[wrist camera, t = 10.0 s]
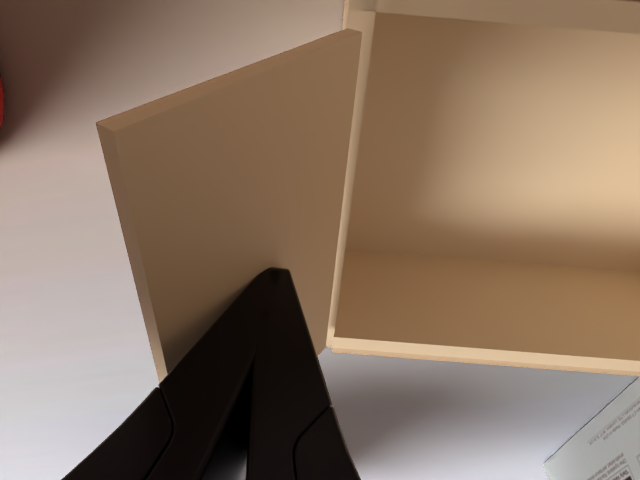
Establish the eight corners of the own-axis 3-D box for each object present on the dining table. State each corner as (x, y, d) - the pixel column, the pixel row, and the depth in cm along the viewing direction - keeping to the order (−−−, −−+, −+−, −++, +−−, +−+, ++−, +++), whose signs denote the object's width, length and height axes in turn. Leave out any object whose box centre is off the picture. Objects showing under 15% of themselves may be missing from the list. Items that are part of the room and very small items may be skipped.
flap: (193, 492, 11) (183, 484, 11) (325, 347, 14) (317, 341, 14) (113, 131, 5) (95, 122, 5) (362, 32, 8) (348, 28, 9)
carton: (662, 283, 19) (735, 386, 15) (321, 256, 18) (315, 353, 15) (890, -34, 12) (1120, 19, 8) (351, -80, 12) (352, -45, 8)
